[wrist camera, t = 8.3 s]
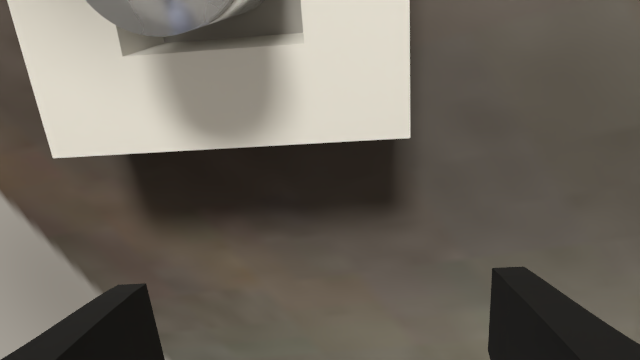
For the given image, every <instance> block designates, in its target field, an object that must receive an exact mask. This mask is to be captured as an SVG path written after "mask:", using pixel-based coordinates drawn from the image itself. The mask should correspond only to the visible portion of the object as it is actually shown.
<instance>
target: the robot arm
mask: <svg viewBox="0 0 640 360" xmlns="http://www.w3.org/2000/svg"><path fill="white" fill-rule="evenodd" d="M488 352H489V355H490V359H491V360H640V344H638V343H636V342H635V341H633V340H631V339H630V338H628V337H627V336H625V335H624V334H622V333H621V332H619V331H617V330H616V329H614V328H613V327H611V326H610V325H608V324H607V323H605V322H604V321H602V320H601V319H599V318H598V317H596V316H595V315H593V314H592V313H590V312H589V311H587V310H586V309H584V308H583V307H581V306H580V305H579V304H577V303H576V302H574V301H573V300H571V299H570V298H569V297H567V296H566V295H564V294H563V293H561V292H560V291H559V290H557V289H556V288H554V287H553V286H551V285H550V284H549V283H547V282H546V281H544V280H543V279H541V278H540V277H539V276H537V275H536V274H534V273H533V272H531V271H530V270H528V269H526V268H525V267H507V268H492V286H491V304H490V323H489V342H488ZM1 360H165V359H164V355H163V351H162V347H161V343H160V339H159V335H158V331H157V327H156V323H155V319H154V315H153V310H152V306H151V302H150V298H149V294H148V290H147V286H146V284H127V285H117V286H115V287H114V288H112V289H110V290H108V291H106V292H105V293H103V294H101V295H100V296H98V297H97V298H95V299H93V300H92V301H90V302H89V303H87V304H86V305H84V306H83V307H81V308H80V309H78V310H77V311H75V312H74V313H72V314H71V315H69V316H68V317H66V318H65V319H63V320H62V321H60V322H59V323H57V324H56V325H54V326H53V327H51V328H50V329H48V330H47V331H45V332H44V333H42V334H41V335H39V336H38V337H36V338H35V339H33V340H31V341H30V342H28V343H27V344H25V345H24V346H22V347H20V348H19V349H17V350H16V351H14V352H12V353H11V354H9V355H8V356H6V357H5V358H3V359H1Z"/></svg>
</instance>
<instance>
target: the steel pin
mask: <svg viewBox="0 0 640 360" xmlns="http://www.w3.org/2000/svg"><path fill="white" fill-rule="evenodd" d="M86 1H87V3H88V4H89V5H90V6H91V7H92V8H93V9H94V10H95V11H97V12H98V13H99V14H100V15H101V16H103V17H104V18H105V19H107V20H108V21H110V22H111V23H113V24H115V25H117V26H118V27H120V28H122V29H125V30H127V31H130V32H133V33H136V34H140V35H145V36H152V37H166V36H173V35H178V34H181V33H184V32H188V31H191V30H194V29H197V28H200V27H203V26H206V25H209V24H212V23H215V22H218V21H221V20H224V19H227V18H230V17H233V16H236V15H239V14H243V13H246V12H248V11H251V10H253V9H255V8H256V7H258V6H259V5H261V4H262V3H263V2H264V1H265V0H86Z"/></svg>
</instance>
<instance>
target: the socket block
mask: <svg viewBox="0 0 640 360" xmlns="http://www.w3.org/2000/svg"><path fill="white" fill-rule="evenodd" d="M7 2H8V5H9V9H10V12H11V16H12V19H13V22H14V26H15V29H16V33H17V36H18V40H19V43H20V47H21V50H22V53H23V57H24V60H25V64H26V67H27V71H28V74H29V78H30V81H31V84H32V88H33V91H34V95H35V98H36V102H37V105H38V109H39V112H40V115H41V119H42V122H43V126H44V129H45V133H46V136H47V140H48V143H49V146H50V150H51V153H52V157H53V158H65V157H83V156H101V155H118V154H136V153H154V152H172V151H189V150H207V149H225V148H243V147H260V146H278V145H296V144H314V143H331V142H349V141H367V140H384V139H402V138H410V0H265V1H264V2H263V3H262V4H261V5H259V6H258V7H256V8H255V9H253V10H251V11H248V12H246V13H243V14H239V15H236V16H233V17H230V18H227V19H224V20H221V21H218V22H215V23H212V24H209V25H206V26H203V27H200V28H197V29H194V30H191V31H188V32H184V33H181V34H178V35H173V36H166V37H152V36H145V35H140V34H136V33H133V32H130V31H127V30H125V29H122V28H120V27H118V26H117V25H115V24H113V23H111V22H110V21H108V20H107V19H105V18H104V17H103V16H101V15H100V14H99V13H98V12H97V11H95V10H94V9H93V8H92V7H91V6H90V5H89V4H88V3H87V1H86V0H7Z"/></svg>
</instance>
